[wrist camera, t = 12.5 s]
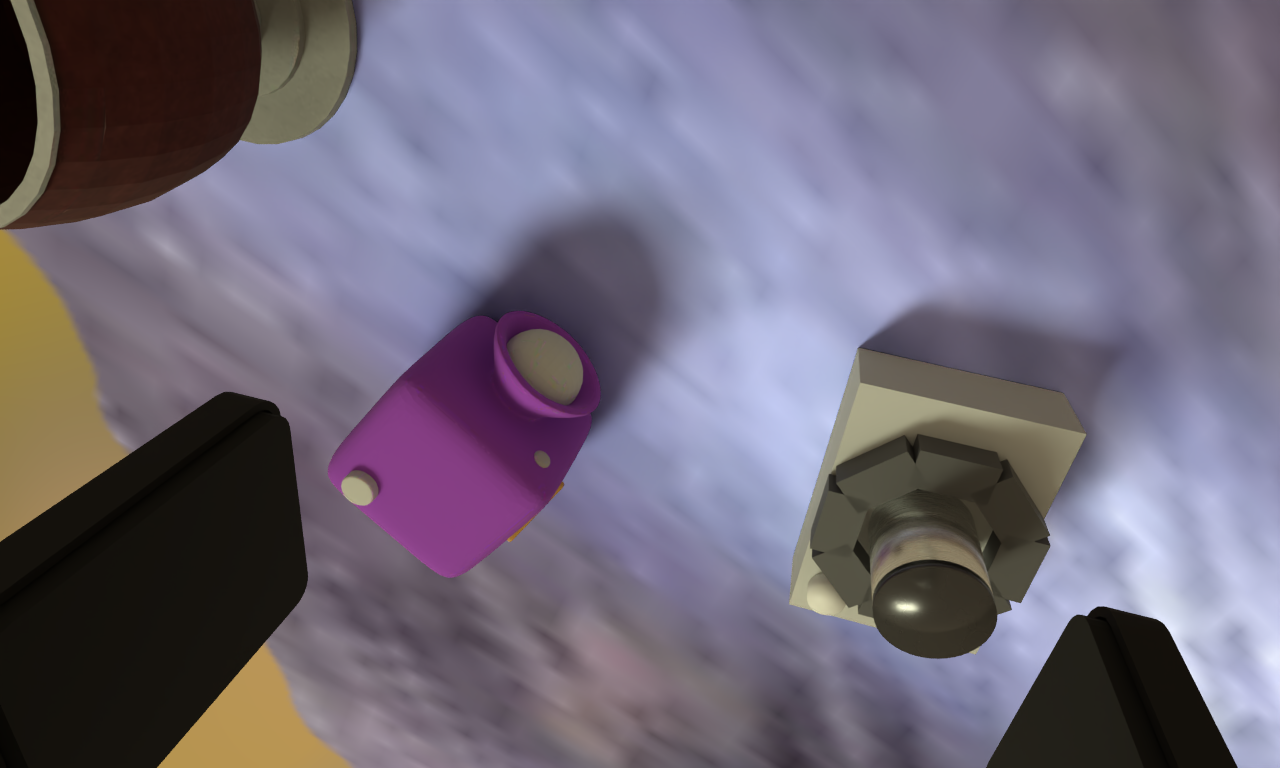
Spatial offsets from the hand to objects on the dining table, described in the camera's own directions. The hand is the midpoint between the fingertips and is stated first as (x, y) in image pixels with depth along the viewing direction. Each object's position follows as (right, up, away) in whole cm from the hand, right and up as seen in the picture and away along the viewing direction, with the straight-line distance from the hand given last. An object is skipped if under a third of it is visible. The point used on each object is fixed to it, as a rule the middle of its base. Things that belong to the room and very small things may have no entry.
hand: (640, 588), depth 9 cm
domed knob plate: (+15, -3, +32) cm, 35 cm away
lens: (+14, -5, +29) cm, 32 cm away
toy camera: (-7, +3, +35) cm, 36 cm away
